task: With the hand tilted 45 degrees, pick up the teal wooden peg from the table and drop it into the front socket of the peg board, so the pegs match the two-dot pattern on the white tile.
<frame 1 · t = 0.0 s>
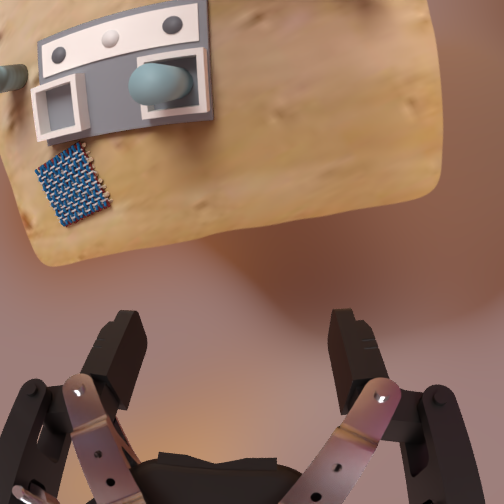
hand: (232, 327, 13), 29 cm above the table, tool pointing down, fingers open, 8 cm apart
teal peg: (18, 76, 31), on the table
peg board: (116, 71, 32), on the table
woven mat: (75, 183, 40), on the table
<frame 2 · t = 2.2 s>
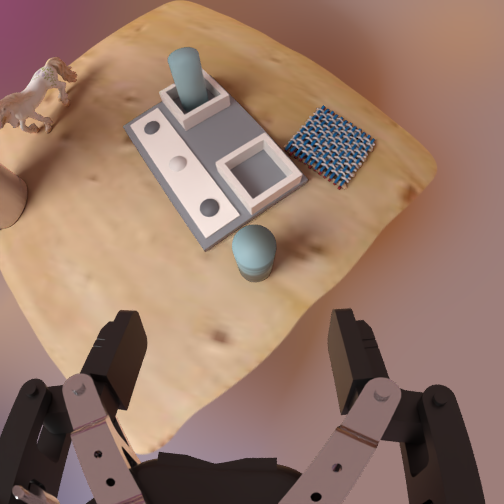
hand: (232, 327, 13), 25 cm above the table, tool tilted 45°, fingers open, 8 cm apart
teal peg: (255, 265, 39), on the table
unicorn figurine: (61, 121, 45), on the table
peg board: (207, 150, 42), on the table
woven mat: (330, 148, 43), on the table
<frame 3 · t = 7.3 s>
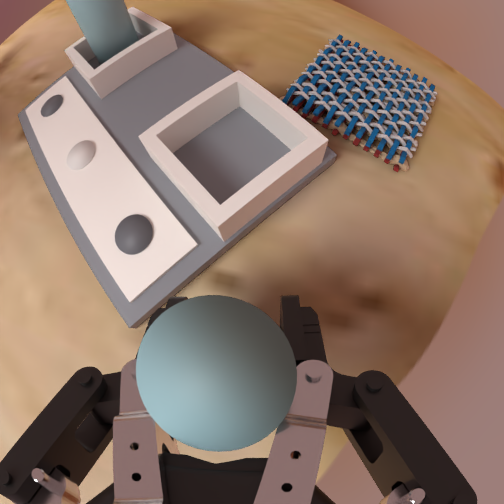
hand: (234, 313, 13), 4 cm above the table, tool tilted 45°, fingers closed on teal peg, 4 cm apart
teal peg: (242, 353, 17), on the table, touching gripper
peg board: (136, 125, 21), on the table
woven mat: (363, 102, 22), on the table
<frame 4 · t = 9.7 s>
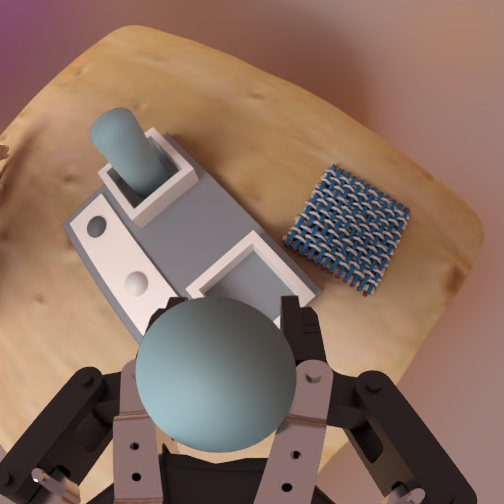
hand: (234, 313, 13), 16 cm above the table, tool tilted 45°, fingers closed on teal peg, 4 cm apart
teal peg: (242, 353, 17), point 12 cm above the table, touching gripper
peg board: (174, 256, 30), on the table
woven mat: (348, 229, 31), on the table
when the fingers open (6 cm above the table, at t = 12.2 s): teal peg drops 1 cm, resting on peg board.
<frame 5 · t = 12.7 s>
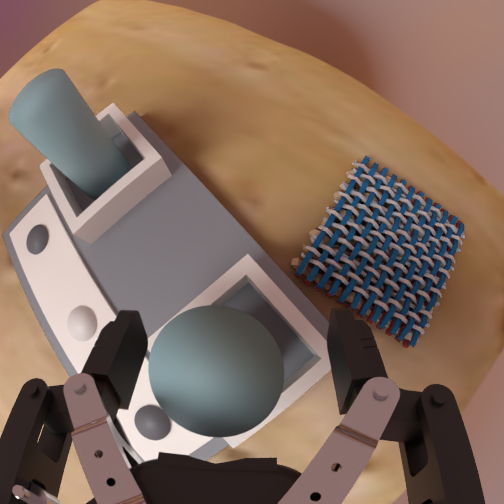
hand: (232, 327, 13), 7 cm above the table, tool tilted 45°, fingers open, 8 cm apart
teal peg: (241, 353, 18), point 1 cm above the table, touching peg board
peg board: (134, 285, 21), on the table
woven mat: (383, 250, 21), on the table
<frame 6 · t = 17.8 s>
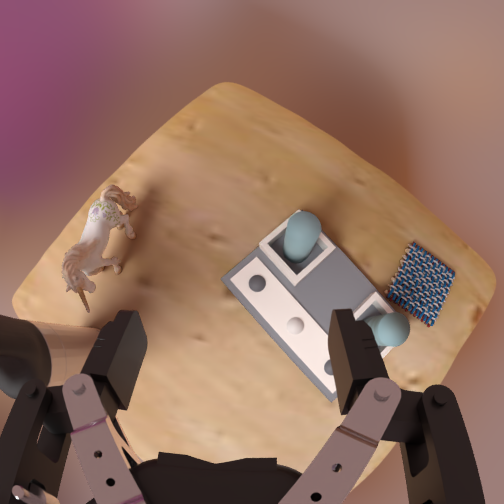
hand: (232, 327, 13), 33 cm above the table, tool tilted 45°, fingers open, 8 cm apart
teal peg: (368, 331, 42), point 1 cm above the table, touching peg board
unicorn figurine: (131, 259, 48), on the table
peg board: (317, 305, 45), on the table
woven mat: (419, 284, 45), on the table
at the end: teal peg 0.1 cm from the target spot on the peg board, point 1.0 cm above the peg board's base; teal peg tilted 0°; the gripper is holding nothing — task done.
